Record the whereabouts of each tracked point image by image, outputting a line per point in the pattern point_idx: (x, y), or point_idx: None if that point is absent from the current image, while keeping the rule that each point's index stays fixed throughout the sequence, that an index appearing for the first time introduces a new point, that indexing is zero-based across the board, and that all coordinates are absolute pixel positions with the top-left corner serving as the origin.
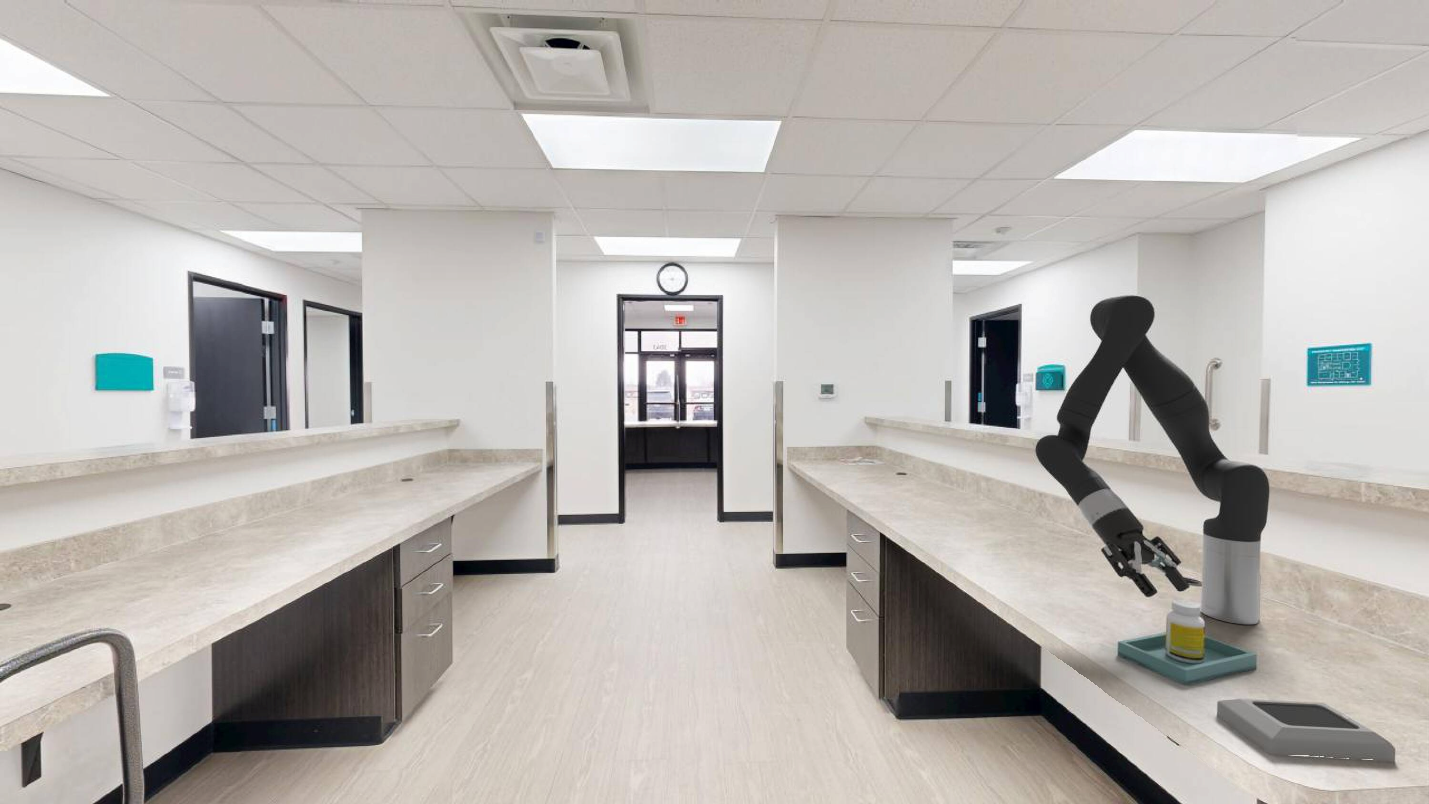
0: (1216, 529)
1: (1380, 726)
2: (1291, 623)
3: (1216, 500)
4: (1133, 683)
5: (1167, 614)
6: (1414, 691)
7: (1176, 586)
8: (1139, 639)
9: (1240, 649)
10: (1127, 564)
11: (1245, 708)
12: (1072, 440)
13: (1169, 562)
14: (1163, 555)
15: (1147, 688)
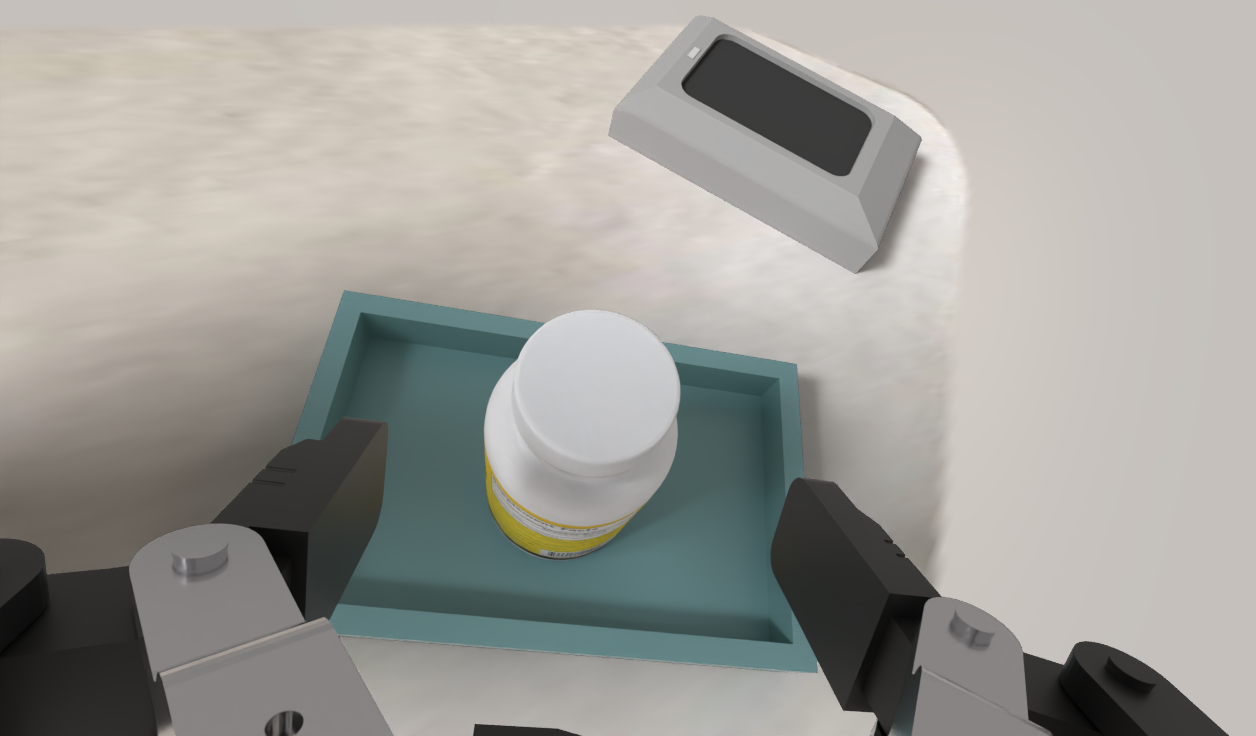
0: None
1: (515, 69)
2: None
3: None
4: (931, 479)
5: (633, 503)
6: (101, 33)
7: (367, 531)
8: (684, 638)
9: (342, 342)
10: (1162, 721)
11: (877, 184)
12: None
13: (241, 594)
14: (272, 658)
15: (913, 437)
